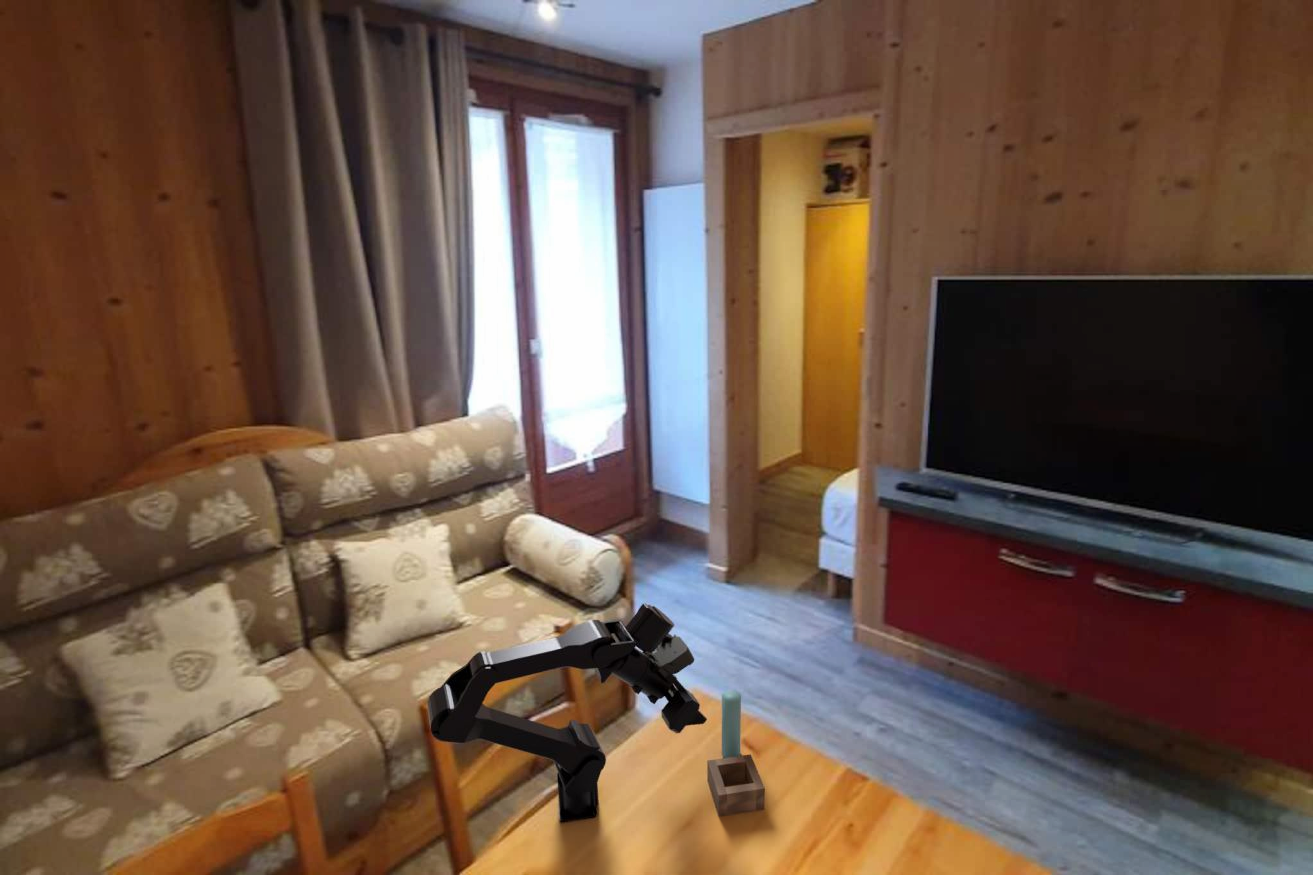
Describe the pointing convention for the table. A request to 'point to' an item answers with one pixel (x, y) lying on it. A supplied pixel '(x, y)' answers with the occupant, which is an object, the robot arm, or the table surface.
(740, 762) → the hole block
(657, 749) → the table surface
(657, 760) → the table surface
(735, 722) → the teal cylinder rod
